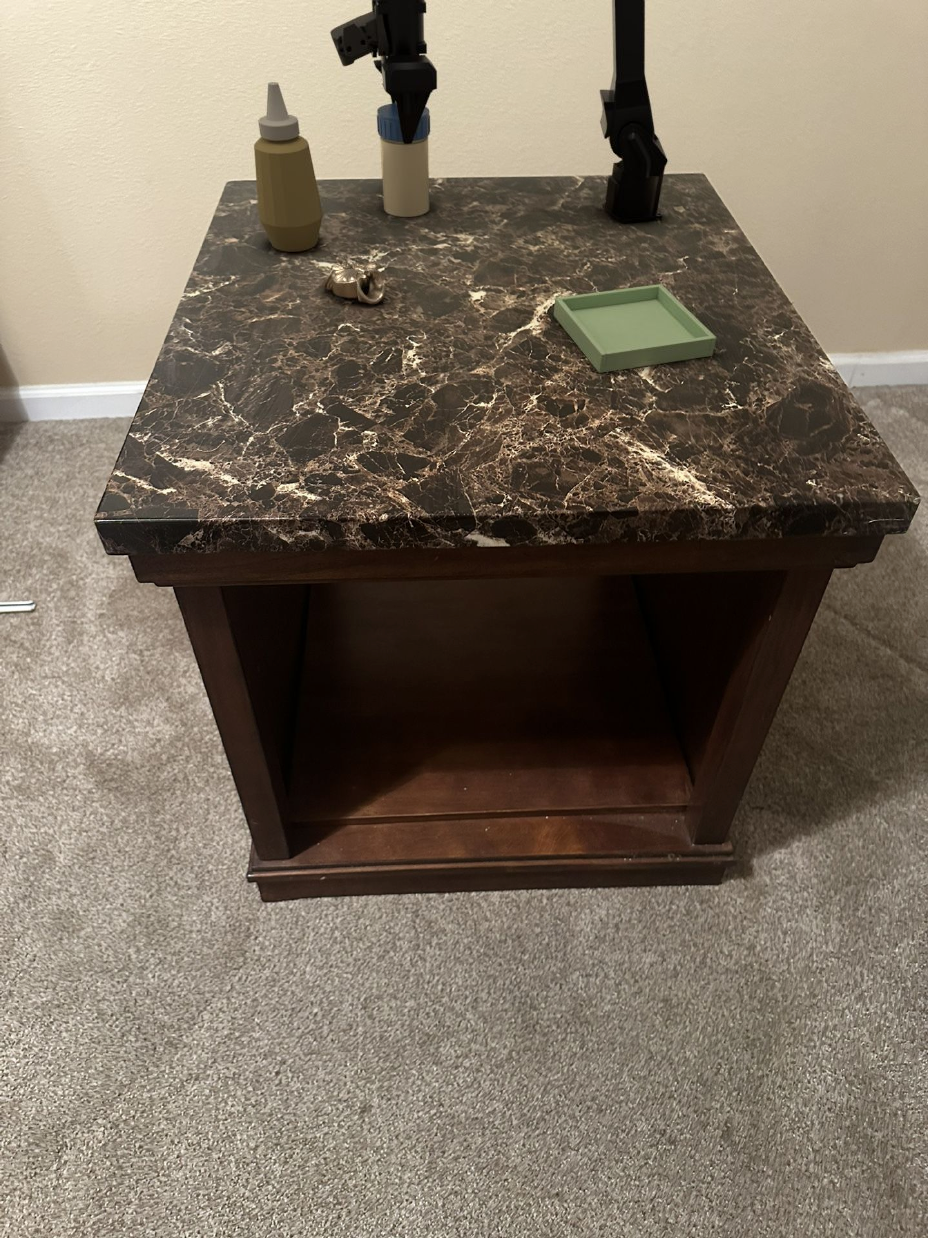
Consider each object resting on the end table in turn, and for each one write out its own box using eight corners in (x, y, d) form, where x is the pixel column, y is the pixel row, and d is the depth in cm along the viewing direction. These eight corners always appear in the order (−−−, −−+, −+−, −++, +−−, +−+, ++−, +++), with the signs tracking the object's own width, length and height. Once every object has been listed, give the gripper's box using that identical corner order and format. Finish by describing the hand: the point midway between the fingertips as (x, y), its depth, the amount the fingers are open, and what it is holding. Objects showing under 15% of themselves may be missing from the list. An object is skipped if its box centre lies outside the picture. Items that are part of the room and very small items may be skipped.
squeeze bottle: (336, 236, 109) (320, 77, 96) (308, 260, 104) (288, 96, 91) (281, 227, 111) (258, 70, 98) (251, 251, 105) (223, 88, 92)
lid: (375, 125, 111) (374, 103, 109) (426, 124, 112) (425, 101, 110) (380, 142, 106) (379, 119, 104) (433, 140, 107) (433, 117, 105)
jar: (422, 197, 119) (420, 107, 110) (434, 214, 115) (433, 121, 106) (379, 201, 117) (374, 110, 109) (389, 218, 113) (385, 125, 105)
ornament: (402, 291, 98) (401, 261, 95) (364, 313, 94) (362, 282, 92) (351, 273, 101) (348, 243, 99) (313, 294, 97) (309, 263, 95)
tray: (657, 301, 97) (661, 283, 96) (712, 355, 89) (717, 337, 87) (553, 315, 95) (555, 297, 93) (599, 373, 86) (601, 354, 84)
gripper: (325, -26, 103) (337, 115, 114) (337, 6, 91) (349, 161, 102) (414, -28, 105) (417, 112, 116) (437, 4, 92) (438, 157, 103)
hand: (404, 134), depth 109 cm, fingers closed on lid, 7 cm apart
